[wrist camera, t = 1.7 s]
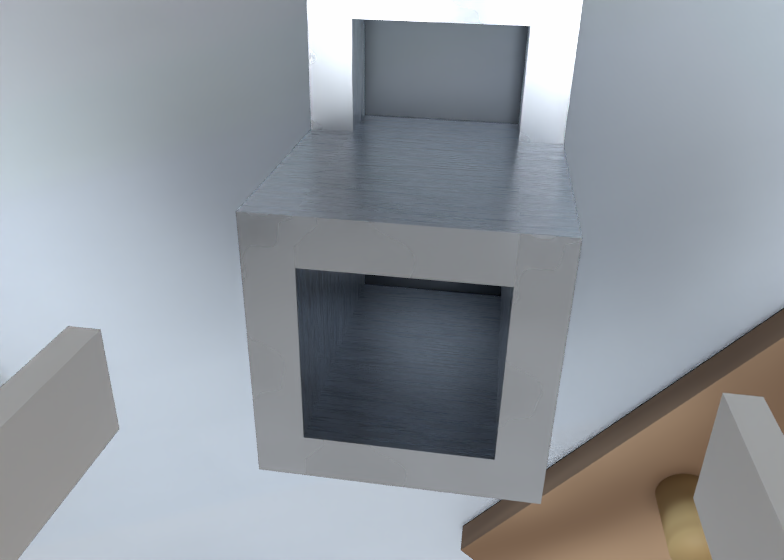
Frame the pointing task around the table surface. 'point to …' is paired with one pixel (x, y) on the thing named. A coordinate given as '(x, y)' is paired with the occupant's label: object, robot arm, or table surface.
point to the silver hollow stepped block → (415, 270)
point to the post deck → (637, 471)
